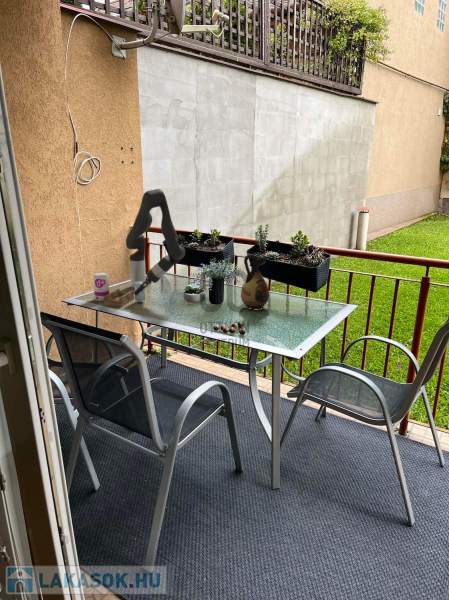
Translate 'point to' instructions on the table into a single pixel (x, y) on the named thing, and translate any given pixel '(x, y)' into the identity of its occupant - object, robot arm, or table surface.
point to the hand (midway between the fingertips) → (136, 292)
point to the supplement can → (101, 285)
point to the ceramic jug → (254, 285)
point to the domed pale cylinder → (142, 294)
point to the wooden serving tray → (118, 298)
